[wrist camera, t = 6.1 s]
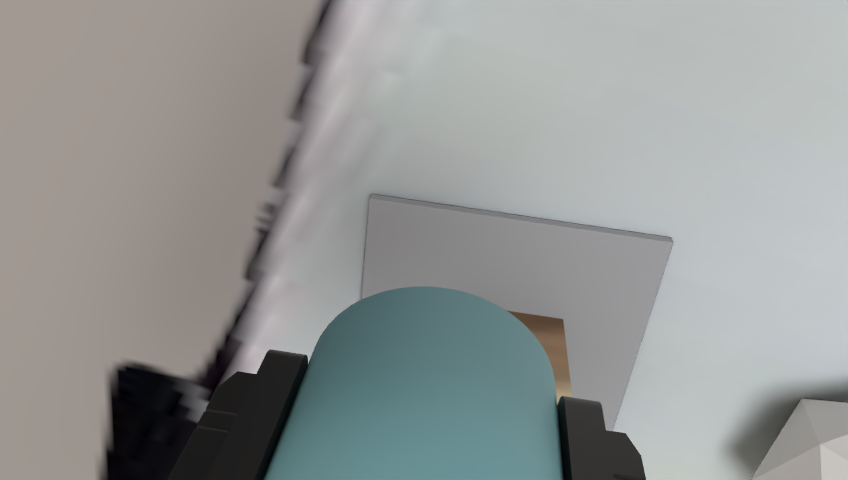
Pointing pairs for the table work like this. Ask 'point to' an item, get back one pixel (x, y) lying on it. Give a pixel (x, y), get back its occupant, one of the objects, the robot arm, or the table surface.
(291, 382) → the robot arm
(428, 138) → the table surface
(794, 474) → the die
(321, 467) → the teal cylinder
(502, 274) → the slate mat
